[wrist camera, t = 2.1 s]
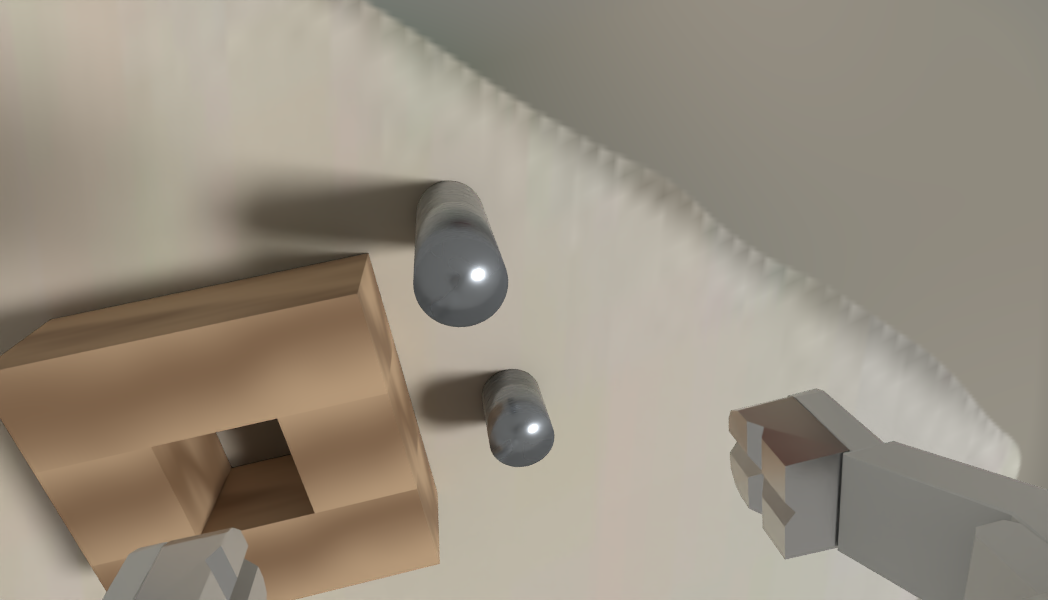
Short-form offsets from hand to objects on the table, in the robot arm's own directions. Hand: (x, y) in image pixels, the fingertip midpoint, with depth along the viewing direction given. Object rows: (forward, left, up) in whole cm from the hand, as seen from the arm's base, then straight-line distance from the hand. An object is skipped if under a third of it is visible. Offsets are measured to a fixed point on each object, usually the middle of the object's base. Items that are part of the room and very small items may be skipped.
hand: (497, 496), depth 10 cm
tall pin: (0, 0, -19) cm, 19 cm away
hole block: (-8, +11, -19) cm, 24 cm away
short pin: (-10, -1, -19) cm, 22 cm away
